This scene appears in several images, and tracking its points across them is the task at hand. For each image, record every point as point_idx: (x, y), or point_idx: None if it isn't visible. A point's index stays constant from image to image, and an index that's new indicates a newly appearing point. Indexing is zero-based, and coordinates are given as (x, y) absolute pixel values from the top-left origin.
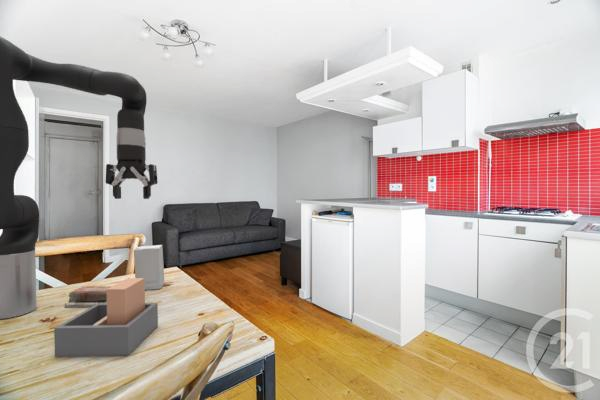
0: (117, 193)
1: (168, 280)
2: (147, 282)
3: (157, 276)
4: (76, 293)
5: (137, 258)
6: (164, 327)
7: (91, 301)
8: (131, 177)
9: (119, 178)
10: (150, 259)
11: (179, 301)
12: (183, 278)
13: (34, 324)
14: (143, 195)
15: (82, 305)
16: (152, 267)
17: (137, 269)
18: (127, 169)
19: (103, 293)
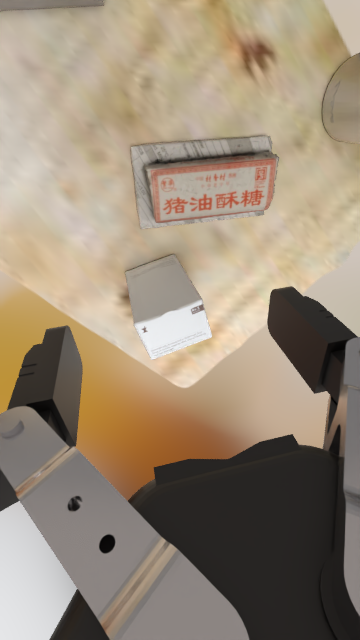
0: (290, 314)
1: None
2: (152, 268)
3: (132, 282)
4: (261, 157)
5: (186, 290)
6: None
7: (219, 156)
8: (208, 468)
9: (347, 403)
10: (152, 298)
11: (18, 201)
12: (119, 340)
13: (270, 22)
14: (62, 338)
15: (228, 138)
16: (145, 289)
17: (180, 275)
18: (325, 605)
19: (196, 162)
